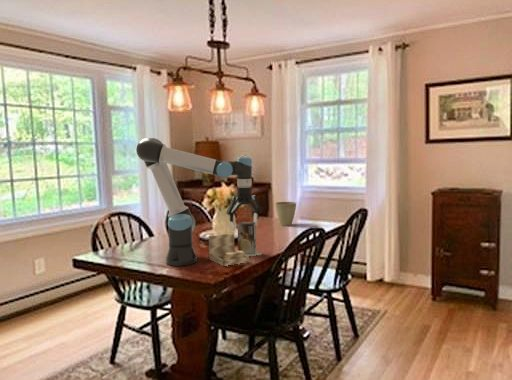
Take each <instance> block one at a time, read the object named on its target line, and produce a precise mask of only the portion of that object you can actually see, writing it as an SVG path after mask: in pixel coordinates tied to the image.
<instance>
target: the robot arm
mask: <svg viewBox="0 0 512 380" xmlns="http://www.w3.org/2000/svg"><path fill="white" fill-rule="evenodd" d="M135 148H136V154H137V156H138V158H139V159H140V160H142V161H143V162H144V164H145V166H146V169H149V170H151V173H152V175H153V177H154V180H155V182H156V184H157V187H158V189H159V192H160V193H161V196H162V199H163V201H164V202H165V205H166V208H167V209H168V213H167V218H168V220H167V226H168V251H167V253H166V254H167V255H166V258H165V264H167V265H168V266H171V265H172V266H173V267H183V266H182V265H185V266H190V265H189V264H191V265H194V264H195V262H196V263H197V254H196V252H195V249H194V245H193V241H194V240H193V232H194V230H195V229H196V225H197V224H196V223H197V222H196V219H195V217H194V215H193V214H192V213H191V210H190V208H189V206H186V205H185V203H184V201H183V199H182V196H181V194H180V192H179V190H178V187H177V185H176V182H175V180H174V178H173V175H172V173H171V170H170V168H169V165H168V164H170V165H173V166H177V167H181V168H185V169H189V170H193V171H197V172H200V173H201V172H202V173H206V174H209V175H213V176H217V177H220V178H223V179H227V178H229V177H231V176H236V177H237V180H236V181H237V182H236V183H237V185H236V186H237V187H236V188H237V189H236V191H237V196H235V195H234V196H232V197H231V201H230V202H229V205H228V208H227V210H226V212H225V214H226V215H228V216H229V222H230V228H232V229H235V228H236V226H235V225H236V224H235V223H236V219H235V218H236V216H235V213H236V212H237V211H238V210H239V208H240V206H242V205H249V207H250V208H251V209H252V210H253V212H254V213H253V222H255V225H256V227H258V220H259V214H260V213H262V212H263V209H262V207H261V205H260V203H259V200H258V196H257V195H256V194H253V195H252V193H253V192H252V191H253V190H252V182H253V181H252V180H253V179H252V177H253V176H252V175H253V172H252V171H253V170H252V168H253V163H252V158H251V157H248V156H247V157H246V156H245V157H241V156H240V157H237V160H218V159H215V158H211V157H207V156H202V155H199V154H195V153H192V152H187V151H184V150H180V149H175V148H171V147H167V145H166V144H164V143H163V142H162V141H161V140H159V139H158V138H154V137H150V138H149V137H147V138H143V139H141V140H140V141H139V142H138V143H137V145H136V147H135ZM236 201H237V202H236ZM252 201H253V202H252ZM193 263H194V264H193Z"/></svg>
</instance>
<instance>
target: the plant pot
mask: <svg viewBox="0 0 512 380" xmlns="http://www.w3.org/2000/svg"><path fill="white" fill-rule="evenodd" d="M275 208H276V213H277V214H276V215H277V217H278V221H279V224H280V226H282V227H283V226H284V227H289V226H292V224H293V222H294V218H295V215H296V209H297V202H296V201H295V202H294V201H277V202H275Z"/></svg>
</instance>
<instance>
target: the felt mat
mask: <svg viewBox="0 0 512 380" xmlns="http://www.w3.org/2000/svg"><path fill="white" fill-rule="evenodd" d="M245 255H246V256H251V257H256V255H257V256H261V255H262V253H261V252H259V251H257V250H256V253H255V254H245Z"/></svg>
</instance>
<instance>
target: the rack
mask: <svg viewBox="0 0 512 380" xmlns="http://www.w3.org/2000/svg"><path fill="white" fill-rule="evenodd" d="M235 251H236V250H235V233H234V232H232V233H223V234H215V235H208V258H209V259H208V260H210V261H212V262H213V261H214V262H213V263H215V262H216V264H217V263H218V264H217V265H219V264H220V265H219V266H221V265H222V266H221V267H223V266H227V267H229V266H228V265H233V266H235V265H234V264H238V265H241V264H240V263H244V264H248V263H247V262H249V263H250V257H249V256H246V255H245V257H242V258H236V259H230V260H223V259H222V258H225V253H229V252H235Z"/></svg>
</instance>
